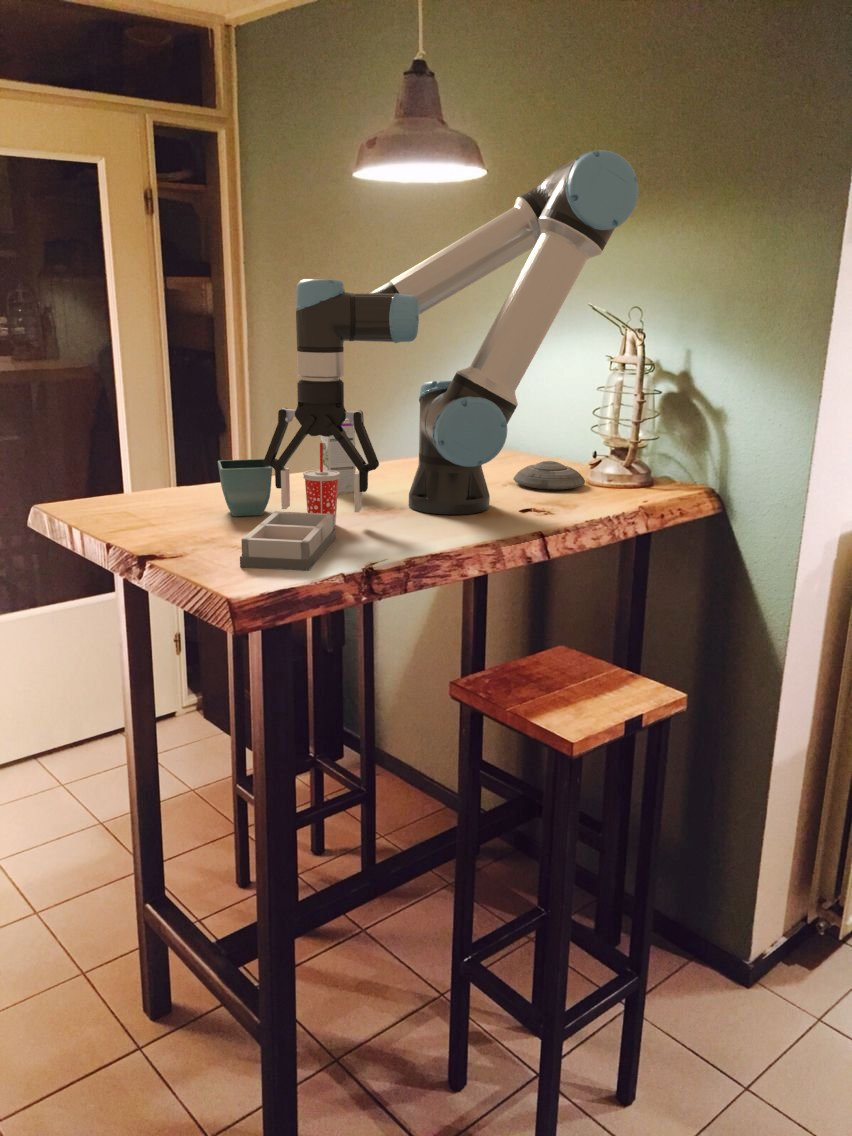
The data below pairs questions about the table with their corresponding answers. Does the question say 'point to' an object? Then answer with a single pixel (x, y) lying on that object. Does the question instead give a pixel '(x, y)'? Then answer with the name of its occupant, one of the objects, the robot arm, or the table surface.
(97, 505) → the table surface
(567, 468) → the flying saucer
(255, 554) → the divided tray
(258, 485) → the flower pot
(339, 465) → the syrup box
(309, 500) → the beverage cup
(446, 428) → the robot arm
